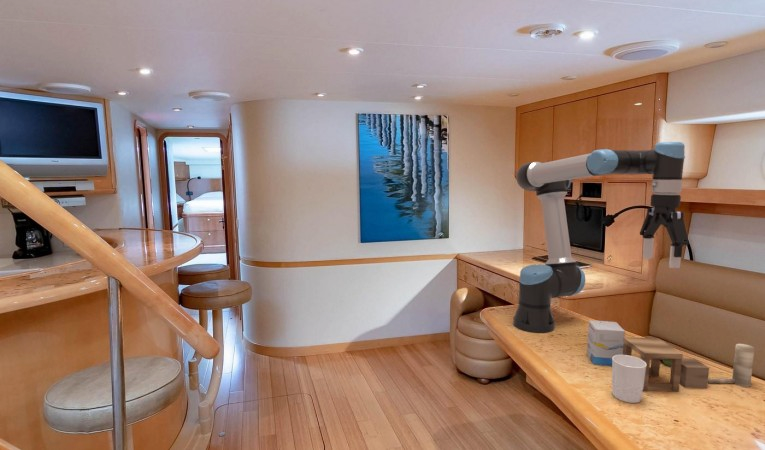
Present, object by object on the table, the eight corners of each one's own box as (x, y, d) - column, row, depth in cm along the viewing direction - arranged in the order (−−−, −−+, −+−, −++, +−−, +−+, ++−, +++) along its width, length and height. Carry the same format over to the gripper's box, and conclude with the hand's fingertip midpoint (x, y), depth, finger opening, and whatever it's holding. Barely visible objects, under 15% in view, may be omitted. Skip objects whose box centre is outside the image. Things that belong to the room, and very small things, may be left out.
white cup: (604, 388, 117) (606, 354, 116) (633, 389, 117) (635, 354, 116) (619, 404, 110) (621, 367, 108) (650, 404, 109) (653, 367, 108)
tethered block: (671, 377, 124) (674, 341, 123) (739, 378, 123) (743, 342, 122) (684, 387, 118) (688, 350, 117) (757, 389, 117) (761, 351, 116)
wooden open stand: (621, 372, 127) (623, 337, 126) (655, 373, 127) (658, 338, 125) (641, 391, 116) (644, 353, 115) (679, 392, 116) (682, 353, 114)
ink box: (623, 367, 130) (625, 330, 129) (593, 364, 132) (595, 328, 131) (614, 355, 139) (616, 321, 137) (586, 353, 140) (588, 319, 139)
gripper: (630, 192, 141) (626, 254, 143) (680, 196, 116) (673, 272, 119) (654, 192, 141) (649, 255, 143) (708, 196, 116) (701, 272, 118)
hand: (660, 263), depth 131 cm, fingers open, 13 cm apart
